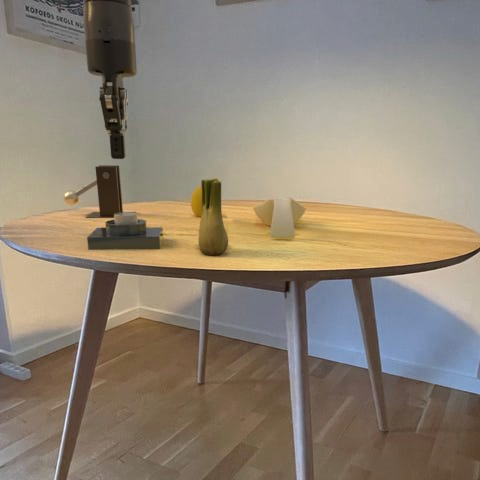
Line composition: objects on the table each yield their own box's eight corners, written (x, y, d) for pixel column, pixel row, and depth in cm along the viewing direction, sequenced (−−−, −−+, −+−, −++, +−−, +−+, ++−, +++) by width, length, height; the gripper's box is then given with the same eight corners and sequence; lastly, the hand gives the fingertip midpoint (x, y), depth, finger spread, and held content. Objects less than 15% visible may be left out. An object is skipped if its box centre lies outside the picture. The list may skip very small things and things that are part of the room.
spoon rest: (252, 219, 110) (253, 188, 108) (302, 220, 110) (304, 188, 108) (252, 239, 88) (253, 201, 86) (315, 241, 88) (317, 202, 86)
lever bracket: (86, 222, 104) (80, 166, 100) (93, 216, 111) (88, 164, 107) (132, 222, 105) (128, 167, 100) (136, 216, 112) (132, 165, 108)
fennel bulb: (199, 249, 80) (197, 176, 76) (227, 249, 80) (228, 177, 76) (197, 257, 75) (196, 179, 70) (228, 257, 75) (228, 180, 71)
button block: (88, 250, 79) (85, 226, 77) (98, 239, 87) (96, 217, 86) (160, 249, 80) (158, 225, 79) (163, 238, 88) (162, 217, 87)
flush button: (112, 225, 80) (112, 215, 80) (116, 222, 84) (115, 212, 83) (136, 225, 81) (135, 215, 80) (139, 221, 84) (138, 212, 84)
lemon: (199, 218, 112) (198, 183, 109) (219, 220, 109) (219, 184, 106) (186, 221, 107) (185, 185, 104) (207, 223, 105) (207, 186, 102)
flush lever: (68, 208, 105) (59, 196, 104) (71, 206, 108) (62, 194, 107) (116, 178, 103) (108, 165, 102) (118, 177, 106) (110, 164, 105)
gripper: (94, 47, 78) (103, 156, 85) (75, 30, 66) (87, 160, 72) (139, 49, 79) (145, 157, 85) (129, 33, 67) (136, 161, 73)
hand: (118, 158), depth 79 cm, fingers closed
